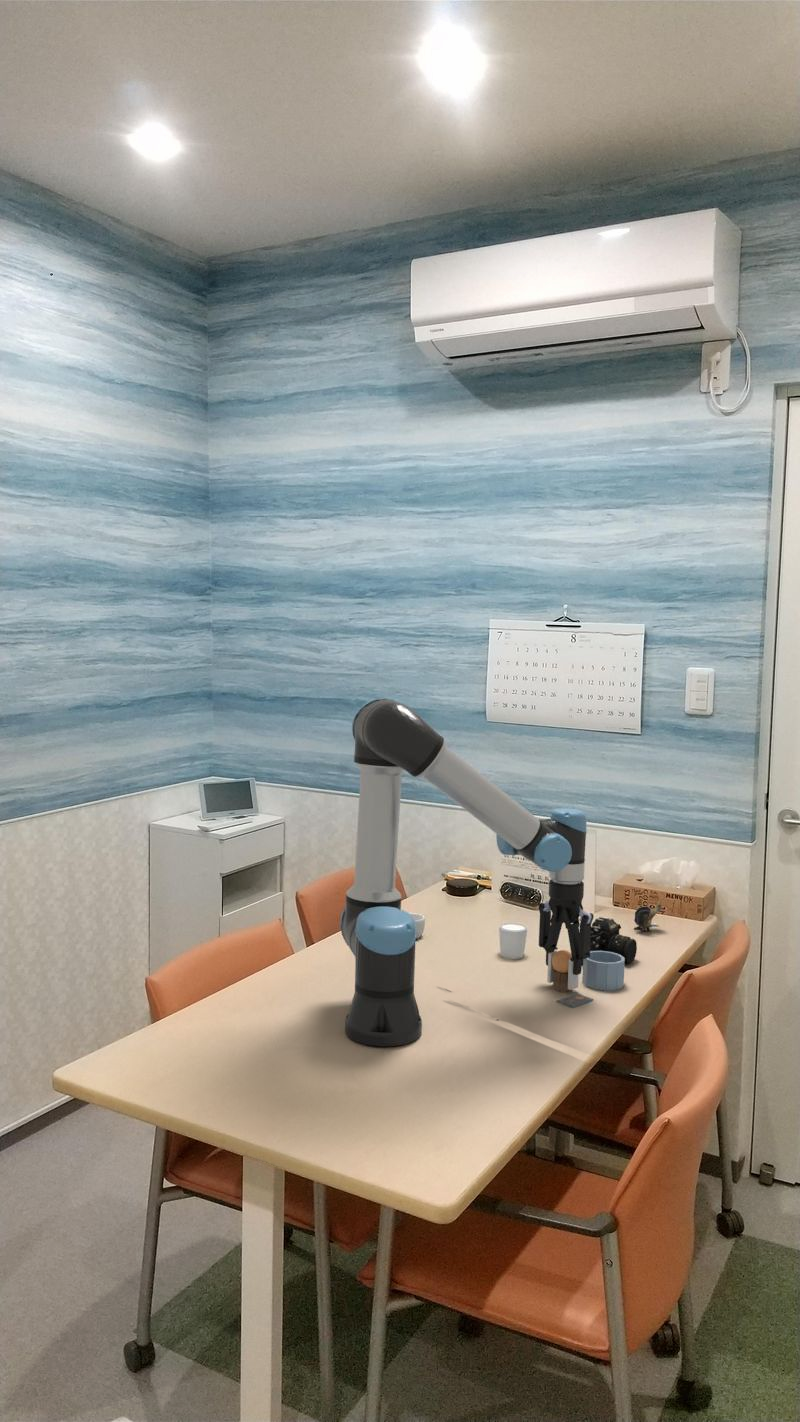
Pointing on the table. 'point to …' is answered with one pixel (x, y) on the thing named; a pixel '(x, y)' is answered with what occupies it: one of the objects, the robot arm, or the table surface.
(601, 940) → the film camera
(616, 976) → the tube
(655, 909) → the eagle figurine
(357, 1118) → the table surface
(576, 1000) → the card
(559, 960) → the ball
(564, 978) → the tube
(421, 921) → the teacup
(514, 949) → the white cylinder
